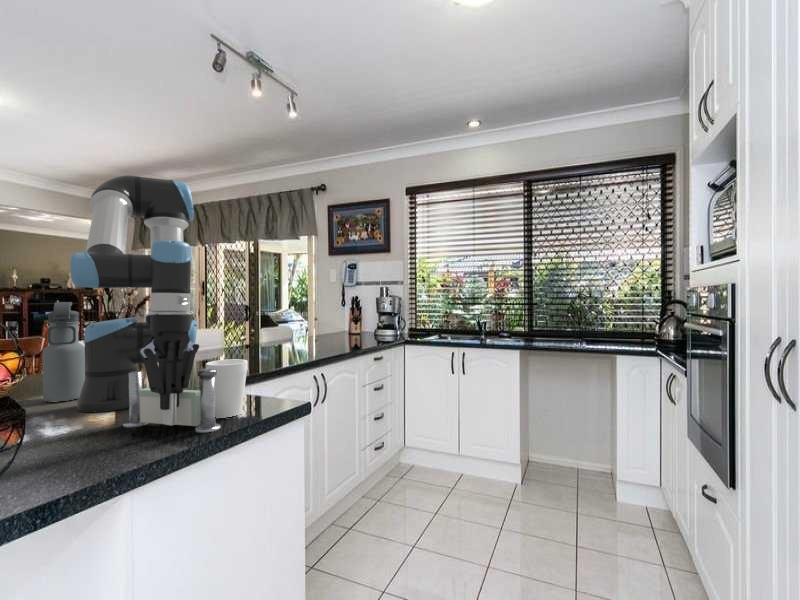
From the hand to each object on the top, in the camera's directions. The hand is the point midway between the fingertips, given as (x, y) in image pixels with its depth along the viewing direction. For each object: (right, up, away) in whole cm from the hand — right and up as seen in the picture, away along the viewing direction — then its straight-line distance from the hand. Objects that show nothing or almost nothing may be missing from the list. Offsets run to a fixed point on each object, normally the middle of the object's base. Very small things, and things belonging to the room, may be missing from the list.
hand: (169, 423), depth 90 cm
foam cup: (+7, -2, +14) cm, 16 cm away
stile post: (+7, -2, +2) cm, 8 cm away
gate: (-2, -1, +5) cm, 5 cm away
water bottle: (-48, -2, +32) cm, 57 cm away
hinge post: (-11, -2, +7) cm, 13 cm away
